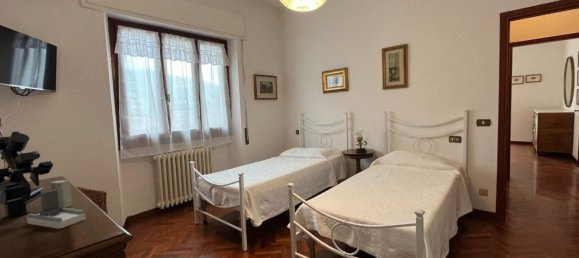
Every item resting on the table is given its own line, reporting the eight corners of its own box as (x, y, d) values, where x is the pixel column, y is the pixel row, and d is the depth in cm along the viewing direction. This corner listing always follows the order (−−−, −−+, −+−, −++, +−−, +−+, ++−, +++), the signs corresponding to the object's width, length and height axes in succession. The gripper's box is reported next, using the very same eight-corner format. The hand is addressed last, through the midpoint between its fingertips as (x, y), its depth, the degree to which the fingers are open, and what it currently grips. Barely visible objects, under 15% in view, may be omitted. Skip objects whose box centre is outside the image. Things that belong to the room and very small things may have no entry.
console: (27, 223, 108) (26, 213, 108) (54, 215, 117) (53, 206, 116) (59, 228, 101) (58, 218, 101) (85, 219, 109) (84, 209, 109)
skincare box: (73, 205, 129) (70, 179, 129) (64, 208, 125) (61, 182, 124) (61, 205, 130) (58, 180, 129) (52, 208, 126) (49, 182, 125)
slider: (40, 215, 108) (37, 192, 108) (54, 210, 113) (52, 189, 112) (47, 216, 106) (45, 193, 106) (62, 211, 111) (59, 189, 111)
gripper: (-10, 149, 105) (10, 178, 101) (48, 143, 122) (66, 168, 119) (-18, 169, 108) (1, 198, 105) (39, 160, 125) (57, 185, 122)
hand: (34, 186), depth 113 cm, fingers open, 3 cm apart
